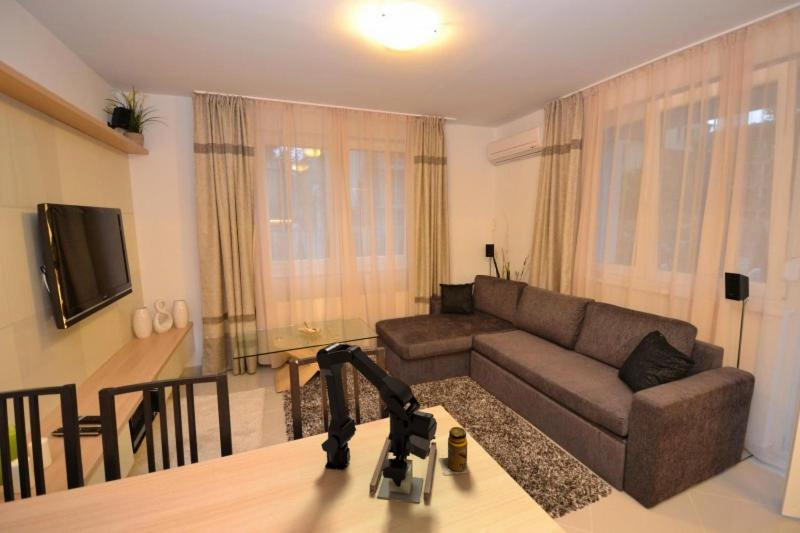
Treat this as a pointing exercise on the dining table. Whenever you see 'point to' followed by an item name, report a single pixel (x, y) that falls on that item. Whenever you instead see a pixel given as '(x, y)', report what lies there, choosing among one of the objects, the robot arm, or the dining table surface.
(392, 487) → the block
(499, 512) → the dining table surface
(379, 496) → the front pad
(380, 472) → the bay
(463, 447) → the condiment
